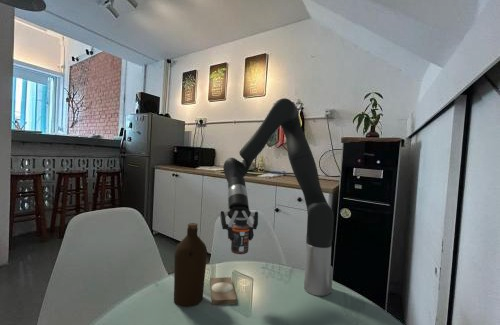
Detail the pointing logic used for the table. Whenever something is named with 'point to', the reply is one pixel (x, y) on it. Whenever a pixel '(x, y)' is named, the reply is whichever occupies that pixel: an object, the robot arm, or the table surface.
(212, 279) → the board
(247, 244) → the supplement bottle
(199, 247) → the olive oil
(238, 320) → the table surface
